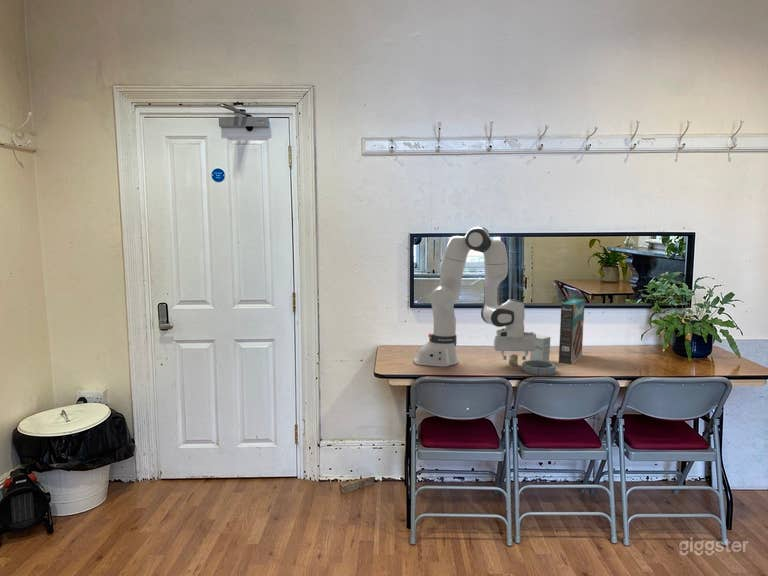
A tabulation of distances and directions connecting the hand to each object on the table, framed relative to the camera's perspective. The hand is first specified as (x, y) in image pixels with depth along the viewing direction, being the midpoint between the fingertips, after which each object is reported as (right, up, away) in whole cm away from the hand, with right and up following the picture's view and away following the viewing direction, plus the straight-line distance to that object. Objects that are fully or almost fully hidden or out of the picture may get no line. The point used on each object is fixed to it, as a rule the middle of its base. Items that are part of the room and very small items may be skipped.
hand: (514, 359), depth 263 cm
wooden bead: (0, -3, +1) cm, 3 cm away
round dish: (+9, -4, -11) cm, 15 cm away
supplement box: (+15, -2, +9) cm, 18 cm away
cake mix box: (+32, -2, +13) cm, 35 cm away
